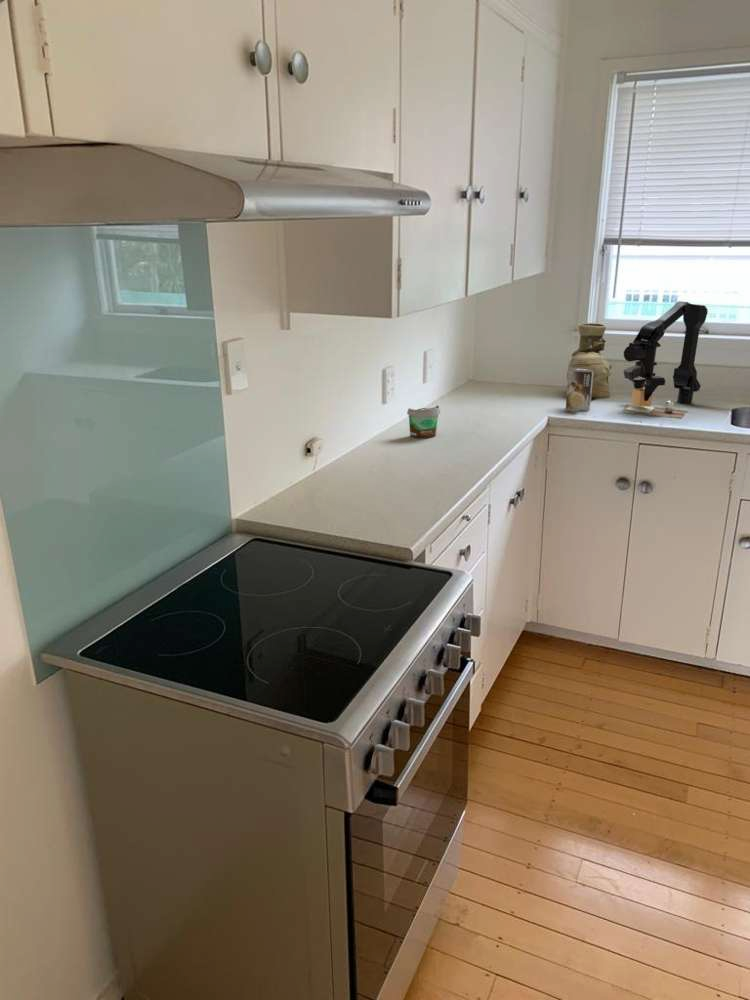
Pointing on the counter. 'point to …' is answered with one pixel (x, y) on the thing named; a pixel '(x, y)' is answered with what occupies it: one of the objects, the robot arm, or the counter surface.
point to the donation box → (640, 397)
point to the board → (661, 412)
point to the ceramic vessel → (593, 358)
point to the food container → (423, 422)
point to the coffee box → (579, 389)
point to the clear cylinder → (669, 407)
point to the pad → (640, 408)
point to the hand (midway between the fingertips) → (641, 399)
